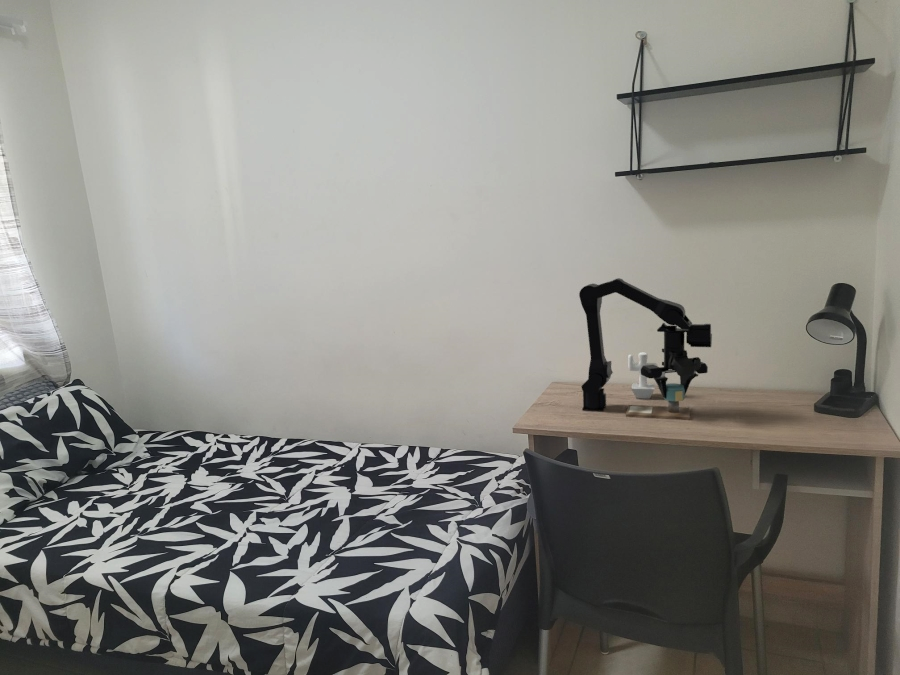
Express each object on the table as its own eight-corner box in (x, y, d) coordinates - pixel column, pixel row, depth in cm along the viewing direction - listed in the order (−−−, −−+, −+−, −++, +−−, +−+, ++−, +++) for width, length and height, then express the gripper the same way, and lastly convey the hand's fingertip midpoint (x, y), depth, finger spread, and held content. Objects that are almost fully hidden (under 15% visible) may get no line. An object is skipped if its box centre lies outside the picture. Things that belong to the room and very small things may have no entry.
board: (625, 416, 187) (625, 400, 186) (628, 407, 197) (628, 392, 196) (689, 419, 181) (689, 403, 180) (689, 410, 190) (689, 394, 189)
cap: (660, 397, 188) (660, 384, 188) (677, 395, 189) (677, 382, 189) (670, 402, 183) (670, 388, 182) (687, 400, 184) (687, 387, 183)
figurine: (658, 400, 202) (657, 355, 200) (628, 399, 205) (627, 355, 203) (658, 394, 209) (658, 350, 206) (629, 393, 212) (628, 350, 209)
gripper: (657, 354, 174) (657, 407, 177) (718, 348, 177) (718, 401, 180) (639, 347, 185) (640, 397, 188) (697, 341, 188) (697, 391, 190)
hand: (673, 397), depth 186 cm, fingers closed on cap, 6 cm apart
